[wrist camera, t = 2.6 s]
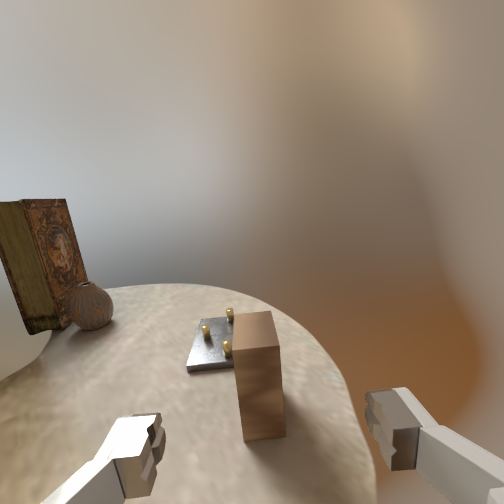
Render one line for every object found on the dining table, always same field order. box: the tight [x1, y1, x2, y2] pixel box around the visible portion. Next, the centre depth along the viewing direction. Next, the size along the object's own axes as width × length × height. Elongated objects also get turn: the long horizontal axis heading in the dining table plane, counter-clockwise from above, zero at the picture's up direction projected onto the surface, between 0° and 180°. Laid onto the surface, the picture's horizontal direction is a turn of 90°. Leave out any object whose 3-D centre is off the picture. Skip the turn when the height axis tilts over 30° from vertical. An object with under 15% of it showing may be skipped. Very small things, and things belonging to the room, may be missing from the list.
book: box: [0, 199, 88, 335], centre depth 49 cm, size 16×6×25 cm, turn 14°
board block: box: [232, 311, 286, 442], centre depth 24 cm, size 4×6×10 cm, turn 2°
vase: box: [70, 281, 113, 330], centre depth 46 cm, size 7×7×9 cm
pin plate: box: [187, 308, 234, 372], centre depth 37 cm, size 11×12×3 cm
